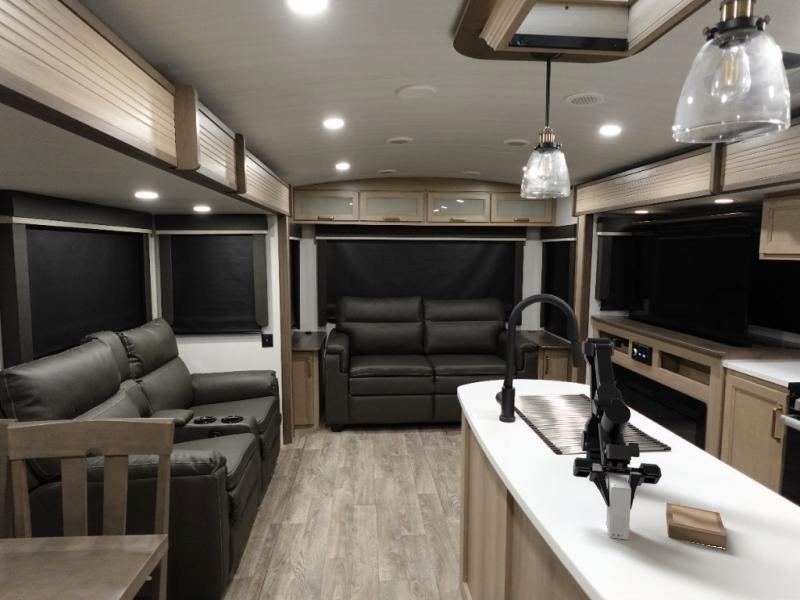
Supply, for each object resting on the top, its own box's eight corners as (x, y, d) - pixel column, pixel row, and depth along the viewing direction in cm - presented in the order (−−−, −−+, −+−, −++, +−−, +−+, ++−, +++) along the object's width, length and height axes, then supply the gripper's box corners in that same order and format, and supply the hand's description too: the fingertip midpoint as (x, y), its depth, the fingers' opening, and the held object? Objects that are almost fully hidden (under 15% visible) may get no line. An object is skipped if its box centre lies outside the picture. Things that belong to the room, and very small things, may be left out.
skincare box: (629, 540, 110) (631, 489, 109) (609, 537, 111) (610, 487, 110) (625, 526, 116) (626, 477, 115) (605, 523, 117) (607, 475, 116)
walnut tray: (665, 514, 121) (666, 502, 121) (718, 524, 116) (719, 512, 116) (668, 537, 111) (669, 524, 111) (726, 549, 106) (726, 536, 106)
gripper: (575, 424, 117) (579, 490, 108) (661, 431, 113) (673, 500, 103) (571, 444, 126) (574, 507, 116) (651, 451, 121) (661, 516, 112)
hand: (619, 507), depth 111 cm, fingers closed on skincare box, 4 cm apart
